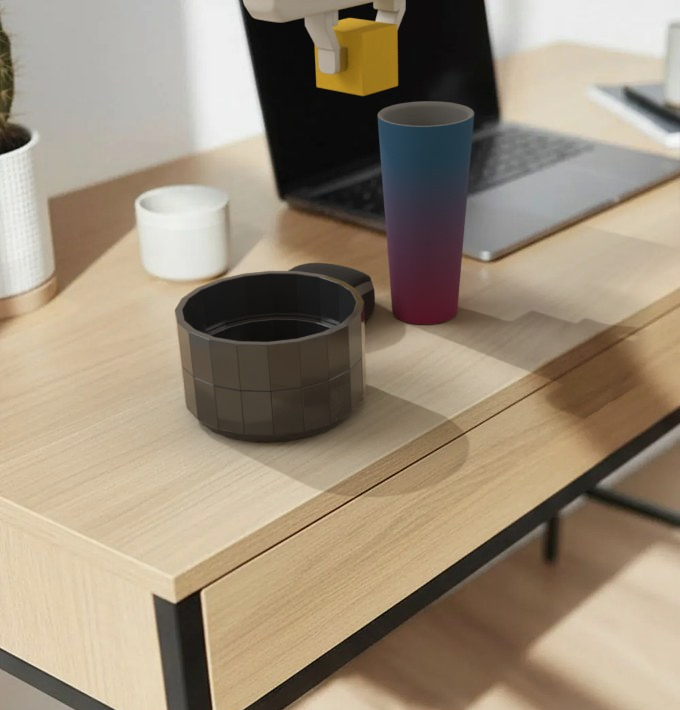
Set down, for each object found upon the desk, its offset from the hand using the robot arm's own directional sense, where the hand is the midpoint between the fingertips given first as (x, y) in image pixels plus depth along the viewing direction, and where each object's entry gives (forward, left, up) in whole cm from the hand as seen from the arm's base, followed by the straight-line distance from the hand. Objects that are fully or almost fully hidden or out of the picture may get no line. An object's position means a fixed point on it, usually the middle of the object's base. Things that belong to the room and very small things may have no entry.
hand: (357, 65), depth 92 cm
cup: (-10, +4, -17) cm, 20 cm away
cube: (0, 0, -2) cm, 2 cm away
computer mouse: (-5, +11, -17) cm, 20 cm away
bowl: (-12, +22, -16) cm, 30 cm away
